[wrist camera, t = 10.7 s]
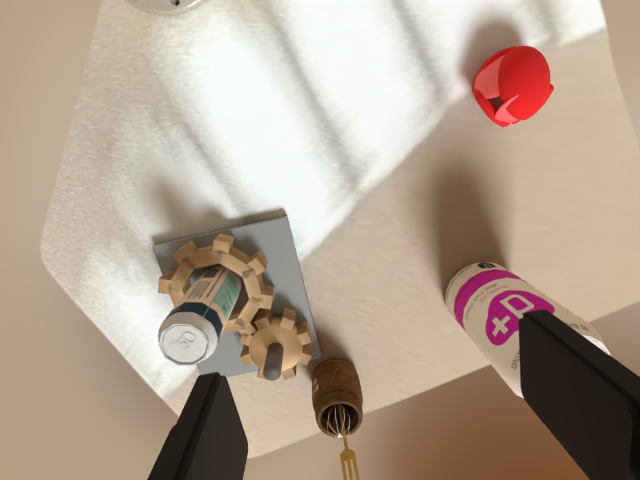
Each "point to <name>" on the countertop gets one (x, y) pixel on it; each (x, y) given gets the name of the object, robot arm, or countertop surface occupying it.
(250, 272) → the oak gear
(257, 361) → the small gear
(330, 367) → the utensil holder
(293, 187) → the countertop surface
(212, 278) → the beer can
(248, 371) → the gear board
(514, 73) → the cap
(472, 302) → the supplement can
